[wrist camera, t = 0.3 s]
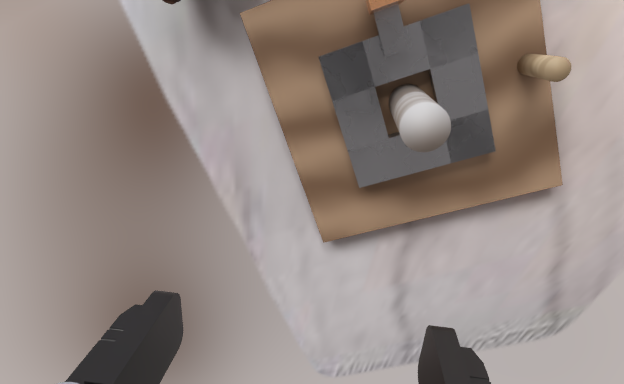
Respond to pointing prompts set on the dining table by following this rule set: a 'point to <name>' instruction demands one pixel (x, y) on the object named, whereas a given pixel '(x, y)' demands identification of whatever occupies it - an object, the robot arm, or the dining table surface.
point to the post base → (428, 188)
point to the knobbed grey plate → (398, 64)
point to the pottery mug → (171, 1)
